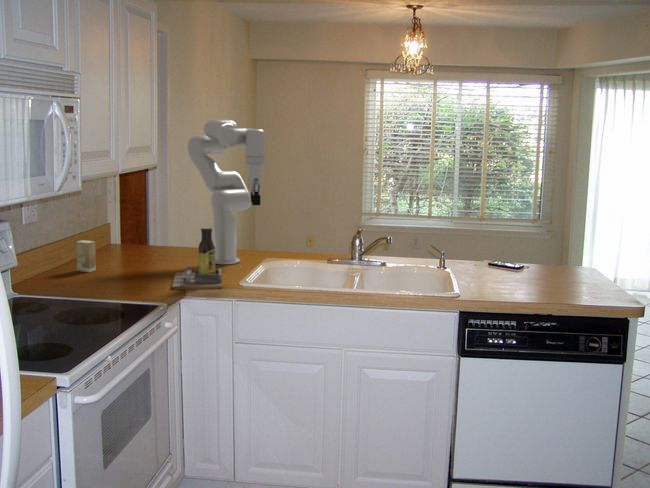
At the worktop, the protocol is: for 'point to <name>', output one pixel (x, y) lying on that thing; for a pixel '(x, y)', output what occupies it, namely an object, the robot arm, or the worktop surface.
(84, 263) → the skincare box
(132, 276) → the worktop surface
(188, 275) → the gate
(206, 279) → the board
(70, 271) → the worktop surface
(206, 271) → the sauce bottle
